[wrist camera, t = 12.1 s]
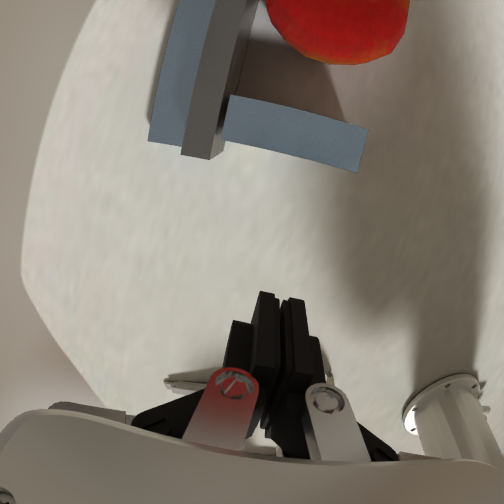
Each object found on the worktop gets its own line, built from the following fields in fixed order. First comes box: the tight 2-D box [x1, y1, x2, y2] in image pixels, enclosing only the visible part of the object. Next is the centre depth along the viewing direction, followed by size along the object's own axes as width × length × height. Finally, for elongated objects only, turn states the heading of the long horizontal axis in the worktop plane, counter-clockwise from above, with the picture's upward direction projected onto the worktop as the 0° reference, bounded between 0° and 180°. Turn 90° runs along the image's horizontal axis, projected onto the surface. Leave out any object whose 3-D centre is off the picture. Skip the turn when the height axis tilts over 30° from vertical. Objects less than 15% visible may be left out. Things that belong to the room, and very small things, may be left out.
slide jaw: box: [221, 95, 368, 173], centre depth 22 cm, size 9×3×6 cm, turn 78°
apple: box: [266, 0, 410, 65], centre depth 16 cm, size 9×9×12 cm
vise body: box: [148, 0, 259, 160], centre depth 19 cm, size 16×22×6 cm
